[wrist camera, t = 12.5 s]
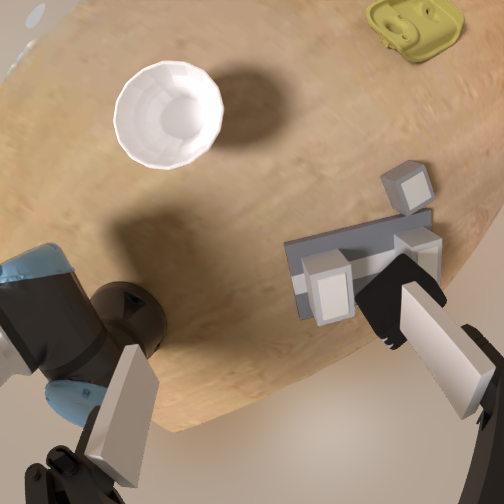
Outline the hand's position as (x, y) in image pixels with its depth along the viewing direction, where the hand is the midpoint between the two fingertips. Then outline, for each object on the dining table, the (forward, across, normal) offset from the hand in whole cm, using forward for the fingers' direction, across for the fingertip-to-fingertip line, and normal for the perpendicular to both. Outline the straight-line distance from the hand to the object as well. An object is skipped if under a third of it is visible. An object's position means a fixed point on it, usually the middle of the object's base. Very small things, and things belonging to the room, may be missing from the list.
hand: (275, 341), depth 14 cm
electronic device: (+25, +17, -15) cm, 34 cm away
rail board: (+32, +17, -15) cm, 40 cm away
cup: (+33, -6, +13) cm, 36 cm away
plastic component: (+33, +32, +24) cm, 52 cm away
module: (+33, +25, -3) cm, 41 cm away
